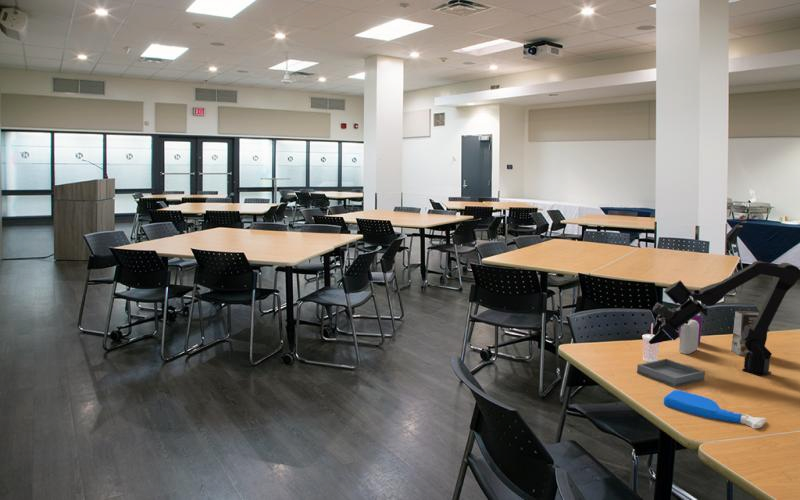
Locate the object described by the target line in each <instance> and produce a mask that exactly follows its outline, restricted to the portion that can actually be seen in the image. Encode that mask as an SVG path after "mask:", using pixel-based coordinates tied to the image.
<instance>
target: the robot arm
mask: <svg viewBox="0 0 800 500" xmlns="http://www.w3.org/2000/svg"><path fill="white" fill-rule="evenodd" d="M759 275H766V276H771V277H772V286H771V288H770V290H769V292H768V293H767V296H766V298H765V301H764V302H763V304H762V306H761V308H760V311H758V312H759V314H758V316H757V318H756V320H755V322H754V323H753V324H752V325H751V326H750V327H749V326H747V325H745V327H744V331H743V332H742V333H741V334H740V335H741V336H742V337H741V341H742V343H743V345H744V346H745V347H746V348H747V350H748V351H749V352H748V353H746V356H744V362H743V363H744V364H743V368H742V369H741V370H742V371H744V372H746V373H750V374H753V375H756V376H760V377H762V376H766V375H771V374H772V371H770V362H771V357H772V351H770V350H769V349H768V348H767V347H766V343H767V339H768V338H767V337H768V330H769V328H770V325H771V324H772V322H773V319H774V318H775V315H776V314H777V312H778V310H779V308H780V306H781V304H782V302H783V300H784V298H785V297H786V294H787V292H788V291H789V290H791V289H792V288H793V287H794V286H796V283H797V282H798V281H799V280H800V268H799V267H797V266H796V265H794V264H791V263H789V262H782V263H778V264H777V263H773V262H764V261H761V260H755V261H753V262H752V263H751V264H749V265H748V266H746V267H744V268H742V269H740V270H738V271H737V272H735V273H733V274H732V275H731V276H729V277H726V278H725V279H723V280H721V281H719V282H716V283H711V284H709V285H706V286H703V287H701V288H700V289H692V290H689V288H687V287H686V286H685V284H684V282H683V281H682V280H680V279H679V280H678V281H676V282H674V283H673V284H670V285H669V286H667V287H666V288H665V289H664V291H663V292H664V294H665V295H666V296H667V297H668V298H669V299H670V300H671V301H672V302H673V303H674V304H676V305H677V304H679V306H678V307H673V308H672V309H671V308H669V307H668V306H667V305H665V304H661V303H660V302H657V301H656V302H655V304H654V305H653V308H652V312H653V313H655V314H657V316H656V319H655V320H656V322H655V324H654V325H653V332H652V335H655V336H654V337H653V338H652V339H651V340H650V341H649V343H650V344H655V343H659V344H660V343H664V342H668V341H669V342H670V341H671V342H672V341H676V340H677V339H679V337H680V332H678V331H680V327H681V326H683V325H684V324H686V325H687V324H688V323H689V322H688V321H689V320H691V319H692V318H694V317H695V316H696V315H698V314H699V313H700V314H701V313H702V314H703V315H704V316H705V317H707V316H708V310H709V308H708V307H713V306H715V305H717V303H718V302H720V301H721V300H722V299H724V297H725V296H726V295H727V294H728V293H730V292H732V291H733V290H736V289H737V288H738V287H740V286H742V285H744V284H745V283H747V282H749V281H752V280H753V279H754V278H757V277H758V276H759ZM694 300H695V301H694ZM701 303H702V304H701ZM703 305H704V306H703ZM707 306H708V307H707ZM647 334H651V330H650V331H649V332H648V333H647Z"/></svg>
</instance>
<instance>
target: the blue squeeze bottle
mask: <svg viewBox="0 0 800 500" xmlns="http://www.w3.org/2000/svg"><path fill="white" fill-rule="evenodd" d="M717 403H718V402H716V401H714V400H712V399H711V398H708V397H705V396H702V395H698V394H695V393H690V392H688V391H683V390H679V389H674V390H672V391H670V392H669V393H668V394H667V395H665V396H664V398H663V405H664V406H667V407H668V408H672V409H675V410H678V411H681V412H684V413H688V414H691V415H695V416H698V417H702V418H707V419H712V420H719V421H724V422H731V423H737V424H740V423H741V424H744V425H746V426H749V427H751V428H752V429H753V430H755V429H760V428H762V426H764V425H765V424H766V421H767V419H766V417H755V416H751V415H749V414H746V413H745V414H744V415H743V414H742V413H736V412H733V411H729V410H727V409H722V408H721V407H720V406H719V404H717Z"/></svg>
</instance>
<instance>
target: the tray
mask: <svg viewBox="0 0 800 500" xmlns="http://www.w3.org/2000/svg"><path fill="white" fill-rule="evenodd" d="M636 367H637V370H636V373H637V374H639V375H641V376H645V377H647V378H650V379H651V380H654V381H658V382H659V383H662V384H665V385H667V386H670V387H673V388H678V387H682V386H687V385H691V384H694V383H698V382H702V381H705V375H706V371H705V370H702V369H698V368H696V367H692V366H690V365H686V364H683V363H681V362H678V361H675V360H671V359H668V358H663V359H657V361H652V362H647V361H646V362H643V363H639V364H637V366H636Z"/></svg>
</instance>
